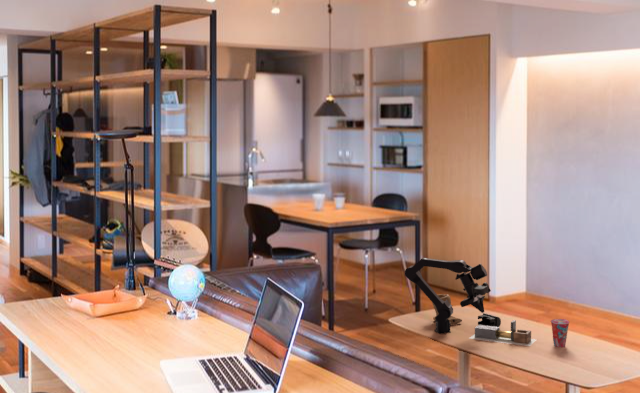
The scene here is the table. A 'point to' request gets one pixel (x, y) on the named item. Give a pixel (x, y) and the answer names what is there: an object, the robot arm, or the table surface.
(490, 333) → the sleeve
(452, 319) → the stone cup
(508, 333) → the sliding bolt
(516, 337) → the socket
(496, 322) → the end cap
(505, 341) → the board
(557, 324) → the cup
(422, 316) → the table surface
